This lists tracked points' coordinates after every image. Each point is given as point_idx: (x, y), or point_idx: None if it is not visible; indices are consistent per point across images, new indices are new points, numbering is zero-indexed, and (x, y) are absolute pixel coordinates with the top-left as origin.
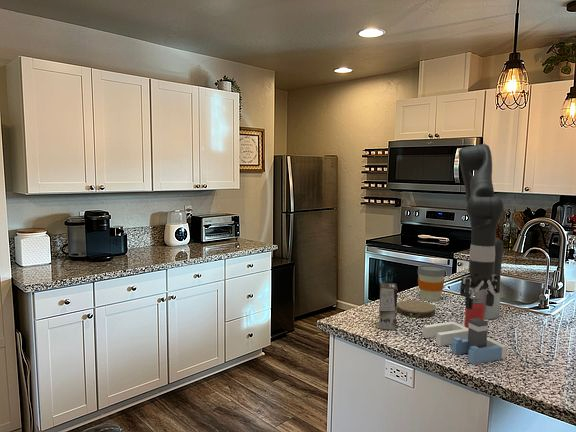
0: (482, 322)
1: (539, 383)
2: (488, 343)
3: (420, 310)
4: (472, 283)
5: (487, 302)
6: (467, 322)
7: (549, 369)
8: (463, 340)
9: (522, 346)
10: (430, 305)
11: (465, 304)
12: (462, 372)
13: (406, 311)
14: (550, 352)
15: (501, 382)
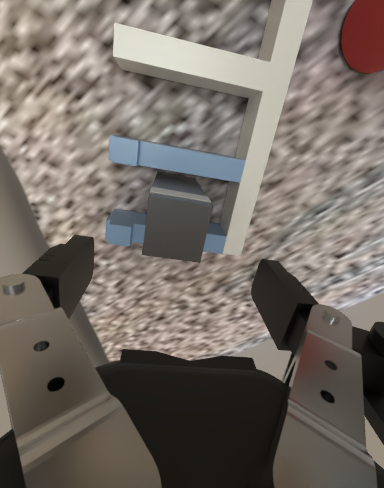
0: (170, 256)
1: (173, 337)
2: (232, 200)
3: None
4: (2, 475)
5: (266, 276)
6: (372, 1)
7: (254, 314)
8: (156, 155)
9: (346, 216)
10: None
11: (46, 254)
12: (50, 242)
13: None
14: (355, 269)
15: (103, 308)
